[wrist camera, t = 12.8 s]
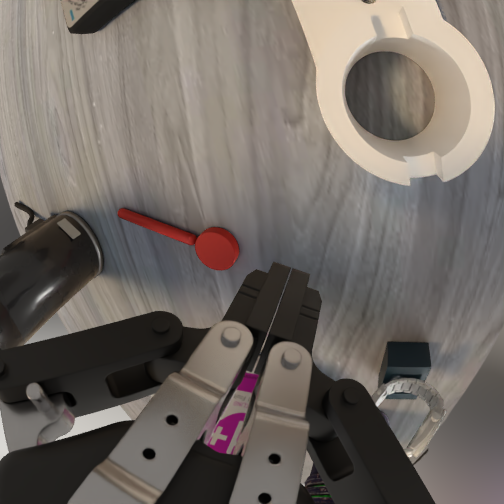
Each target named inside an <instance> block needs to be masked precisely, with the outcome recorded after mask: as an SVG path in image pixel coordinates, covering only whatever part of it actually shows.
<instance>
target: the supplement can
mask: <svg viewBox="0 0 504 504" xmlns="http://www.w3.org/2000/svg"><path fill="white" fill-rule="evenodd" d="M259 358H260V356H258V358H257V361H256V363H255V366H254V368H253V371H252V372H249V371H246V373H245V375H244V378H243V380H242V382H241V384H240V385H239V386H238V388H237V390H236V392H235V394H234V396H233V397H232V399H231V401H230V403H229V405H228V407H227V408H226V410H225V412H224V414H223V416H222V417H221V419H220V421H219V423H218V425H217V426H216V428H215V430H214V432H213V434H212V437H211V439H210V441H209V443H208V444H207V445H208V446H209V447H211V448H212V449H214V450H215V451H217V452H220V453H226V454H232V453H233V451H234V448H235V445H236V443H237V440H238V437H239V434H240V431H241V428H242V424H243V421H244V418H245V414H246V411H247V407H248V404H249V401H250V397H251V394H252V391H253V389H254V387H255V384H256V382H257V379H258V376H259V375H258V374H255V373H254V371H255V368H256V366H257V363H258V361H259Z"/></svg>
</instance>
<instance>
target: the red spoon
mask: <svg viewBox="0 0 504 504" xmlns="http://www.w3.org/2000/svg"><path fill="white" fill-rule="evenodd" d="M118 216H119V217H120V218H122V219H125V220H127V221H130V222H132V223H135V224H137V225H140V226H142V227H145V228H147V229H150V230H153V231H155V232H158V233H160V234H163V235H165V236H168V237H170V238H173V239H176V240H178V241H181V242H183V243H186V244H189V245H194V244H195V250H196V254H197V256H198V258H199V259H200V260H201V262H202V263H203V264H205V265H206V266H207V267H209V268H211V269H214V270H226V269H228V268H230V267H231V266H232V265H233V264H234V262H235V261H236V259H237V258H238V255H239V246H238V243H237V241H236V239H235V238H234V236H233V235H232V234H231V233H229V232H228V231H226V230H225V229H222V228H219V227H211V228H208V229H206V230H204V231H203V232H202V233H201V234H200V235H199V236H198V238H197V237H196V236H195V235H194V234H191V233H189V232H186V231H183V230H181V229H178V228H175V227H173V226H170V225H167V224H165V223H162V222H159V221H156V220H154V219H151V218H148V217H146V216H143V215H140V214H138V213H135V212H132V211H130V210H127V209H124V208H121V209H119V211H118Z"/></svg>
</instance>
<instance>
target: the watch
mask: <svg viewBox="0 0 504 504" xmlns="http://www.w3.org/2000/svg"><path fill="white" fill-rule="evenodd" d="M430 369H431V361H430V352H429V344H428V343H410V342H387V346H386V350H385V354H384V358H383V362H382V366H381V369H380V373H379V381H378V389H377V390H376V392H375V393H374V394H373V395H372V397H371V398H372V399H373V401H374V402H375V404H376V406H377V407H378V406H379V404H380V403H381V402H382V401H383V399H416V398H417V396H419V397H420V398H421V399H422V400H424V401H425V402H426V404H427V405H428V406H429V407H430V412H429V413H428V415H427V417H426V418H425V420H424V421H423V423H422V425H421V426H420V428H419V429H418V431H417V432H416V434H415V435H414V437H413V438H412V440H411V441H410V443H409V444H408V446H407V449H403V450H404V451H405V453H406V455H407V456H408V458H409V457H411V456H412V455H414V456H415V457H417V456H418V455H419V454H421V452H422V451H423V450H424V449H425V447H426V446H427V445H428V443H429V442H430V440H431V439H432V437H433V436H434V434H435V433H436V431H437V429H438V428H439V426H440V424H441V422H442V420H443V418H444V416H445V413H446V409H444V410H443V405H444V400H443V399H442V398H441V396H440V394H438V391H437V390H436V389H435V388H434V387H433V386H431V385H430V384H428V383H427V382H426V383H425V380H426V378H427V376H428V373H429V371H430ZM432 387H433V388H432ZM427 390H428V391H427ZM426 392H427V393H426ZM419 394H420V395H419ZM425 394H426V395H425Z"/></svg>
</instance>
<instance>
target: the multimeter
mask: <svg viewBox="0 0 504 504" xmlns="http://www.w3.org/2000/svg"><path fill="white" fill-rule="evenodd" d="M133 1H135V0H61V4H62V8H63V12H64V16H65V20H66V23H67V27H68V30H69V32H70V33H74V34H89V33H95V32H97V31H98V30H99V29H100V28H101V27H103V26H104V25H105V24H106V23H107V22H108V21H109V20H111V19H112V18H113V17H114V16H115V15H117V14H118V13H119V12H120V11H122V10H123V9H124V8H125V7H127V6H128V5H129V4H131V3H132V2H133Z"/></svg>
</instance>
